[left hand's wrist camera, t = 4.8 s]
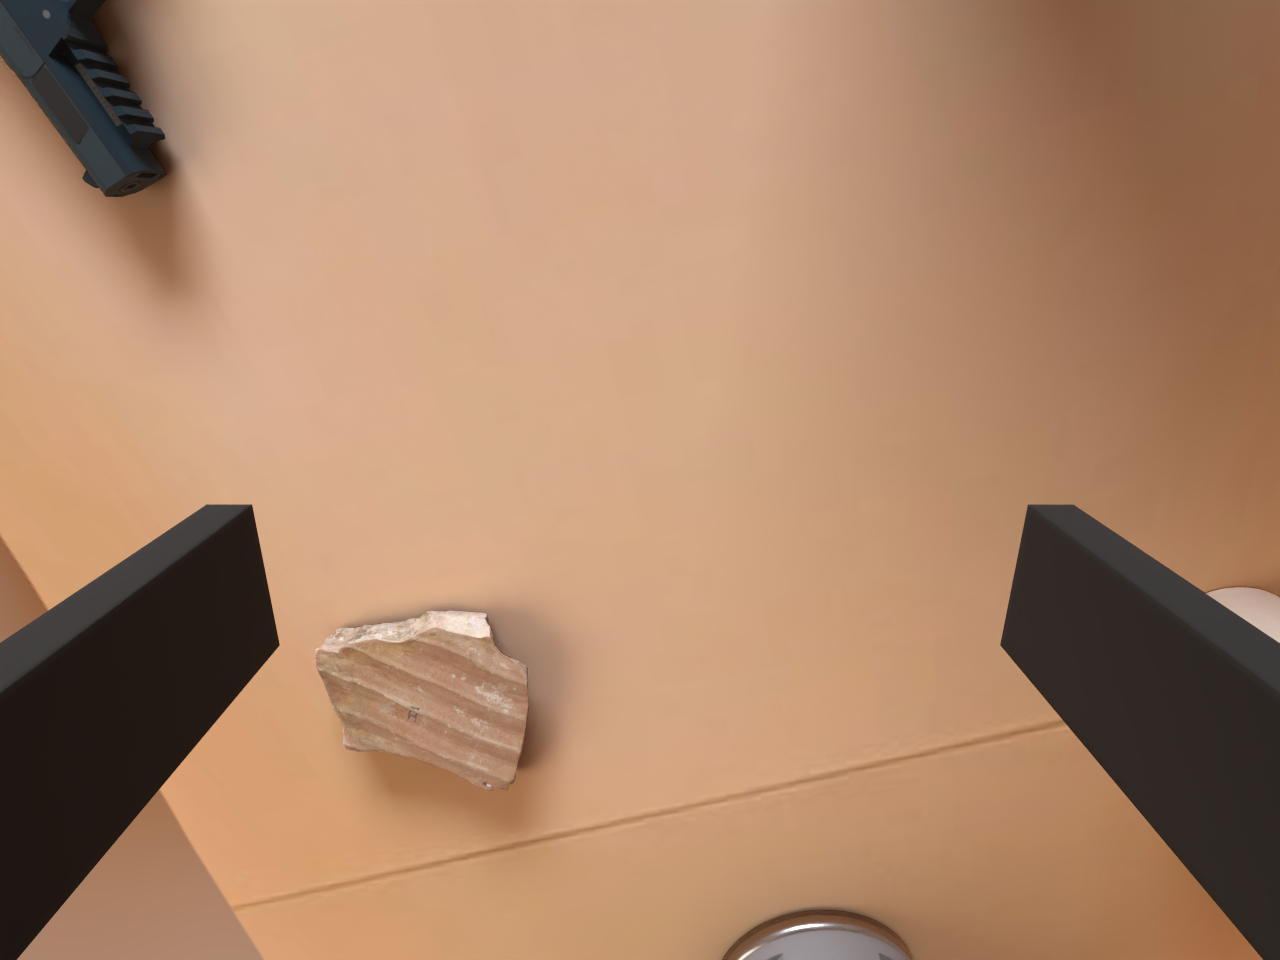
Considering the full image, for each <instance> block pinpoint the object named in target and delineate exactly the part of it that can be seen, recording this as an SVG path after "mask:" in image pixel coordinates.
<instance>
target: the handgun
mask: <svg viewBox="0 0 1280 960" xmlns="http://www.w3.org/2000/svg"><path fill="white" fill-rule="evenodd" d="M104 1H105V0H0V55H1V56H2V58H3V59H4V61H5V62H6V63H7V65H8V66H9V67H10V69H12V70H13V71H14V72H15V73H16V75H17V76H18V78H19V79H20V80H21V82H22V83H23V84H24V86H25V87H26V88H27V90H28V91H29V93H30V94H31V95H32V97H33V98H34V99H35V101H36V102H37V103H38V105H39V106H40V108H41V109H42V110H43V112H44V113H45V114H46V116H47V117H48V118H49V120H50V121H51V123H52V124H53V125H54V127H55V128H56V129H57V131H58V132H59V133H60V135H61V136H62V138H63V139H64V140H65V142H66V143H67V144H68V146H69V147H70V148H71V150H72V151H73V152H74V154H75V155H76V157H77V158H78V159H79V161H80V162H81V163H82V165H83V166H84V167H85V169H86V171H85V174H84V176H83V180H84V181H85V182H86V183H88V184H89V185H91V186H93V187H95V188H100V189H101V191H102V192H103V193H104V195H105V196H106V197H123V196H126V195H130V194H133V193H136V192H138V191H141V190H143V189H144V188H146V187H148V186H149V185H151V184H153V183H154V182H156V181H157V180H159V179H160V178H162V177H163V176H165V175H167V174H166V173H165V171H164V170H163V169H162V167H161V166H160V164H159V163H158V162H157V160H156V159H155V157H154V156H153V155H152V153H151V152H150V150H149V149H148V148H149V147H150V146H151V144H152V143H153V142H155V141H159V140H162V139H165V135H164V133H163V132H162V130H161V129H160V128H156V127H154V125H153V124H152V122H154V118H153V117H152V116H151V114H150V113H149V111H148V110H143V109H142V108H141V107H140V105H141V100H140V98H139V97H138V95H137V94H136V93H133V92H130V91H129V89H128V88H127V87H129V82H128V81H127V79H126V78H125V76H123V75H119V74H118V73H117V72H116V70H118V69H117V65H116V63H115V62H114V60H113V59H112V57H109V56H105V54H104V53H103V51H106V50H108V48H107V45H106V43H105V42H104V40H103V38H102V37H101V35H100V34H99V32H98V31H97V29H96V27H95V26H94V24H93V23H92V21H91V20H90V19H91V17H92V16H93V15H94V14H95V12H96V11H97V10H98V9H99V7H100V6H101V5H102V4H103V3H104Z"/></svg>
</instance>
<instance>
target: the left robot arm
mask: <svg viewBox="0 0 1280 960" xmlns="http://www.w3.org/2000/svg"><path fill="white" fill-rule="evenodd" d="M278 646H279V640H278V635H277V629H276V624H275V619H274V614H273V609H272V604H271V599H270V594H269V589H268V584H267V579H266V574H265V568H264V563H263V558H262V553H261V548H260V543H259V538H258V533H257V528H256V523H255V518H254V513H253V507H252V505H205V506H204V507H202V508H201V509H200V510H198V511H197V512H195V513H194V514H192V515H191V516H189V517H188V518H186V519H185V520H183V521H182V522H180V523H179V524H177V525H176V526H174V527H173V528H171V529H170V530H168V531H167V532H165V533H164V534H162V535H161V536H159V537H158V538H156V539H155V540H153V541H152V542H150V543H149V544H147V545H146V546H144V547H143V548H141V549H140V550H138V551H137V552H135V553H134V554H132V555H131V556H129V557H128V558H126V559H125V560H123V561H122V562H120V563H119V564H117V565H116V566H114V567H113V568H111V569H110V570H109V571H107V572H106V573H104V574H103V575H101V576H100V577H98V578H97V579H95V580H94V581H92V582H91V583H89V584H88V585H86V586H85V587H83V588H82V589H80V590H79V591H77V592H76V593H74V594H73V595H71V596H70V597H68V598H67V599H65V600H64V601H62V602H61V603H59V604H58V605H56V606H55V607H53V608H52V609H50V610H49V611H47V612H46V613H44V614H43V615H41V616H40V617H38V618H37V619H35V620H34V621H33V622H31V623H29V624H28V625H26V626H25V627H23V628H22V629H21V630H19V631H18V632H16V633H15V634H13V635H12V636H10V637H9V638H7V639H6V640H4V641H3V642H1V643H0V960H17V959H18V957H19V956H20V955H21V954H22V953H23V951H24V950H25V949H26V948H27V947H28V945H29V944H30V943H31V942H32V941H33V939H34V938H35V937H36V936H37V935H38V933H39V932H40V931H41V930H42V929H43V928H44V926H45V925H46V924H47V923H48V922H49V920H50V919H51V918H52V917H53V916H54V914H55V913H56V912H57V911H58V910H59V908H60V907H61V906H62V905H63V904H64V902H65V901H66V900H67V899H68V898H69V896H70V895H71V894H72V893H73V892H74V890H75V889H76V888H77V887H78V886H79V884H80V883H81V882H82V881H83V880H84V878H85V877H86V876H87V875H88V874H89V872H90V871H91V870H92V869H93V868H94V867H95V865H96V864H97V863H98V862H99V861H100V859H101V858H102V857H103V856H104V855H105V853H106V852H107V851H108V850H109V849H110V847H111V846H112V845H113V844H114V843H115V841H116V840H117V839H118V838H119V837H120V835H121V834H122V833H123V832H124V831H125V829H126V828H127V827H128V826H129V825H130V823H131V822H132V821H133V820H134V819H135V817H136V816H137V815H138V814H139V813H140V812H141V810H142V809H143V808H144V807H145V806H146V804H147V803H148V802H149V801H150V800H151V798H152V797H153V796H154V795H155V794H156V792H157V791H158V790H159V789H160V788H161V786H162V785H163V784H164V783H165V782H166V780H167V779H168V778H169V777H170V776H171V774H172V773H173V772H174V771H175V770H176V768H177V767H178V766H179V765H180V764H181V762H182V761H183V760H184V759H185V758H186V757H187V755H188V754H189V753H190V752H191V751H192V749H193V748H194V747H195V746H196V745H197V743H198V742H199V741H200V740H201V739H202V737H203V736H204V735H205V734H206V733H207V731H208V730H209V729H210V728H211V727H212V725H213V724H214V723H215V722H216V721H217V719H218V718H219V717H220V716H221V715H222V713H223V712H224V711H225V710H226V709H227V707H228V706H229V705H230V704H231V703H232V701H233V700H234V699H235V698H236V697H237V696H238V694H239V693H240V692H241V691H242V690H243V688H244V687H245V686H246V685H247V684H248V682H249V681H250V680H251V679H252V678H253V676H254V675H255V674H256V673H257V672H258V670H259V669H260V668H261V667H262V666H263V664H264V663H265V662H266V661H267V660H268V658H269V657H270V656H271V655H272V654H273V652H274V651H275V650H276V649H277V648H278ZM1001 646H1002V648H1003V649H1004V650H1005V651H1006V652H1007V654H1008V655H1009V656H1010V657H1011V658H1012V660H1013V661H1014V662H1015V663H1016V664H1017V666H1018V667H1019V668H1020V669H1021V670H1022V672H1023V673H1024V674H1025V675H1026V676H1027V678H1028V679H1029V680H1030V681H1031V682H1032V684H1033V685H1034V686H1035V687H1036V688H1037V690H1038V691H1039V692H1040V693H1041V694H1042V696H1043V697H1044V698H1045V699H1046V700H1047V701H1048V703H1049V704H1050V705H1051V706H1052V707H1053V709H1054V710H1055V711H1056V712H1057V713H1058V715H1059V716H1060V717H1061V718H1062V719H1063V721H1064V722H1065V723H1066V724H1067V725H1068V727H1069V728H1070V729H1071V730H1072V731H1073V733H1074V734H1075V735H1076V736H1077V737H1078V739H1079V740H1080V741H1081V742H1082V743H1083V745H1084V746H1085V747H1086V748H1087V749H1088V751H1089V752H1090V753H1091V754H1092V755H1093V757H1094V758H1095V759H1096V760H1097V761H1098V762H1099V764H1100V765H1101V766H1102V767H1103V768H1104V770H1105V771H1106V772H1107V773H1108V774H1109V776H1110V777H1111V778H1112V779H1113V780H1114V782H1115V783H1116V784H1117V785H1118V786H1119V788H1120V789H1121V790H1122V791H1123V792H1124V794H1125V795H1126V796H1127V797H1128V798H1129V800H1130V801H1131V802H1132V803H1133V804H1134V806H1135V807H1136V808H1137V809H1138V810H1139V812H1140V813H1141V814H1142V815H1143V816H1144V817H1145V819H1146V820H1147V821H1148V822H1149V823H1150V825H1151V826H1152V827H1153V828H1154V829H1155V831H1156V832H1157V833H1158V834H1159V835H1160V837H1161V838H1162V839H1163V840H1164V841H1165V843H1166V844H1167V845H1168V846H1169V847H1170V849H1171V850H1172V851H1173V852H1174V853H1175V855H1176V856H1177V857H1178V858H1179V859H1180V861H1181V862H1182V863H1183V864H1184V865H1185V867H1186V868H1187V869H1188V870H1189V871H1190V873H1191V874H1192V875H1193V876H1194V877H1195V878H1196V880H1197V881H1198V882H1199V883H1200V884H1201V886H1202V887H1203V888H1204V889H1205V890H1206V892H1207V893H1208V894H1209V895H1210V896H1211V898H1212V899H1213V900H1214V901H1215V902H1216V904H1217V905H1218V906H1219V907H1220V908H1221V910H1222V911H1223V912H1224V913H1225V914H1226V916H1227V917H1228V918H1229V919H1230V920H1231V922H1232V923H1233V924H1234V925H1235V926H1236V928H1237V929H1238V930H1239V931H1240V932H1241V933H1242V935H1243V936H1244V937H1245V938H1246V939H1247V941H1248V942H1249V943H1250V944H1251V945H1252V947H1253V948H1254V949H1255V950H1256V951H1257V953H1258V954H1259V955H1260V956H1261V957H1262V959H1263V960H1280V643H1279V642H1277V641H1276V640H1274V639H1273V638H1271V637H1270V636H1268V635H1267V634H1265V633H1264V632H1262V631H1261V630H1259V629H1258V628H1257V627H1255V626H1254V625H1252V624H1251V623H1249V622H1248V621H1246V620H1245V619H1243V618H1242V617H1240V616H1239V615H1237V614H1236V613H1234V612H1233V611H1231V610H1230V609H1228V608H1227V607H1225V606H1224V605H1222V604H1221V603H1219V602H1218V601H1216V600H1215V599H1213V598H1212V597H1210V596H1209V595H1207V594H1206V593H1204V592H1203V591H1201V590H1200V589H1198V588H1197V587H1195V586H1194V585H1192V584H1191V583H1189V582H1188V581H1186V580H1185V579H1183V578H1182V577H1180V576H1179V575H1177V574H1176V573H1174V572H1173V571H1171V570H1170V569H1169V568H1167V567H1166V566H1164V565H1163V564H1161V563H1160V562H1158V561H1157V560H1155V559H1154V558H1152V557H1151V556H1149V555H1148V554H1146V553H1145V552H1143V551H1142V550H1140V549H1139V548H1137V547H1136V546H1134V545H1133V544H1131V543H1130V542H1128V541H1127V540H1125V539H1124V538H1122V537H1121V536H1119V535H1118V534H1116V533H1115V532H1113V531H1112V530H1110V529H1109V528H1107V527H1106V526H1104V525H1103V524H1101V523H1100V522H1098V521H1097V520H1095V519H1094V518H1092V517H1091V516H1089V515H1088V514H1086V513H1085V512H1083V511H1082V510H1080V509H1079V508H1078V507H1076V506H1075V505H1028V507H1027V513H1026V518H1025V523H1024V528H1023V533H1022V538H1021V543H1020V548H1019V553H1018V558H1017V563H1016V568H1015V574H1014V579H1013V584H1012V589H1011V594H1010V599H1009V604H1008V609H1007V614H1006V619H1005V624H1004V629H1003V635H1002V640H1001ZM722 960H914V959H913V957H912V954H911V952H910V950H909V949H908V947H907V946H906V944H905V943H904V942H903V940H902V939H901V938H900V937H899V936H898V935H897V934H896V933H895V932H893V931H892V930H891V929H889V928H888V927H886V926H885V925H883V924H881V923H879V922H877V921H875V920H873V919H871V918H868V917H865V916H862V915H858V914H855V913H850V912H845V911H836V910H811V911H802V912H797V913H792V914H788V915H784V916H781V917H778V918H775V919H772V920H770V921H767V922H765V923H763V924H761V925H759V926H757V927H755V928H754V929H752V930H751V931H749V932H747V933H746V934H745V935H744V936H742V937H741V938H740V939H739V940H738V941H737V942H735V943H734V944H733V946H732V947H731V948H730V949H729V950H728V951H727V953H726V954H725V956H724V957H723V959H722Z"/></svg>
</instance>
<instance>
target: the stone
mask: <svg viewBox="0 0 1280 960" xmlns="http://www.w3.org/2000/svg"><path fill="white" fill-rule="evenodd" d="M335 631H336V634H334V635H330V636H328V637H327V639H326V640H325V643H324V644H323V645H322V646H321V647H319V648H317V649H316V653H315V658H316V667H317V670H318V673H319V675H320V676H321V678H322V680H323V682H324V685H325V688H326V691H327V694H328V696H329V698H330V701H331V704H332V706H333V708H334V710H335V712H336V713H337V715H338V717H339V719H340V721H341V723H342V726H343V742H344V748H345V749H348V750H352V751H358V752H368V751H381V752H385V753H392V754H395V755H399V756H404V757H412V758H415V759H418V760H421V761H424V762H427V763H429V764H432V765H434V766H437V767H440V768H442V769H445V770H447V771H450V772H452V773H454V774H456V775H458V776H459V777H461V778H464V779H465V780H466V781H468V782H469V783H471V784H474V785H477V786H479V787H481V788H484V789H487V790H493V789H495V788H501V789H504V790H508V787H509V785H510V784H512V783H513V782H514V780H515V773H516V769H517V766H518V760H519V758H520V756H521V753H522V748H523V744H524V737H525V735H524V733H525V728H526V722H527V717H528V706H529V701H528V674H527V666H526V665H524V664H523V663H522V662H520V661H519V660H514V659H511V658H509V657H507V656H505V655H503V654H502V653H501V652H500V651H499V650H498V648H497V647H496V645H495V643H494V639H493V633H492V629H491V628H490V626H489V624H488V616H487V614H485V613H479V612H464V611H446V612H444V611H427V612H425V613H424V614H423V615H422V616H421V617H419V618H411V619H407V620H405V621H401V622H394V623H382V624H376V625H363V626H360V627H357V628H341V629H337V630H335Z"/></svg>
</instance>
